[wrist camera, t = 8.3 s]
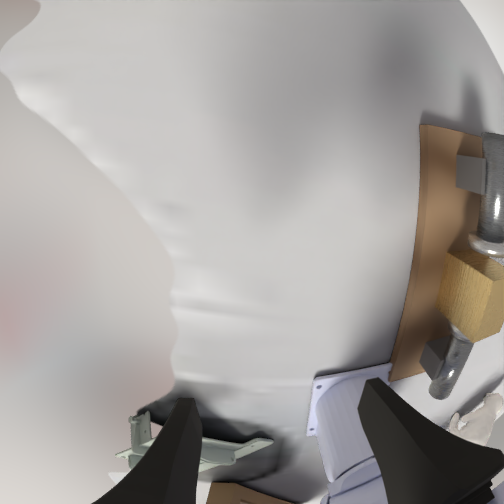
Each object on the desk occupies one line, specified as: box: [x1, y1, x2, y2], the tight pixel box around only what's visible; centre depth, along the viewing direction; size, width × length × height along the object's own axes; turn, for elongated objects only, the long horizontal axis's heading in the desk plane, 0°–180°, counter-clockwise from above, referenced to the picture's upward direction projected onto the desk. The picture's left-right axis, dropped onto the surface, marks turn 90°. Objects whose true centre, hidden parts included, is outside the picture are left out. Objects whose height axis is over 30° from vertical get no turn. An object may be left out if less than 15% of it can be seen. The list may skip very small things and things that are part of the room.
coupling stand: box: [388, 125, 504, 400], centre depth 17 cm, size 22×9×6 cm, turn 3°
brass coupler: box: [435, 249, 504, 343], centre depth 16 cm, size 5×4×6 cm
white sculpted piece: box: [449, 393, 503, 446], centre depth 25 cm, size 6×8×12 cm
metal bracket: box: [115, 411, 274, 472], centre depth 25 cm, size 14×6×15 cm
